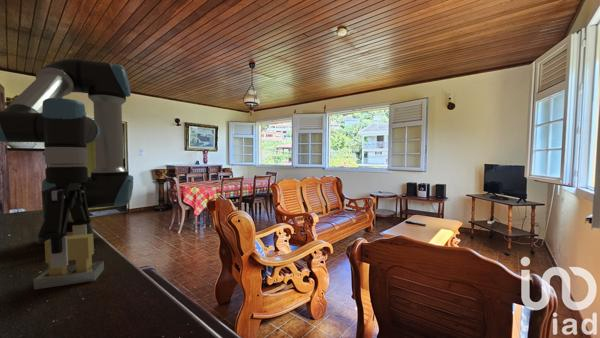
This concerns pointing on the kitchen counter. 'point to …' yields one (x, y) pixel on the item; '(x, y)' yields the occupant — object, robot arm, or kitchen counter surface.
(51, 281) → the grey flat frame
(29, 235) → the kitchen counter surface
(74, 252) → the yellow notched block
